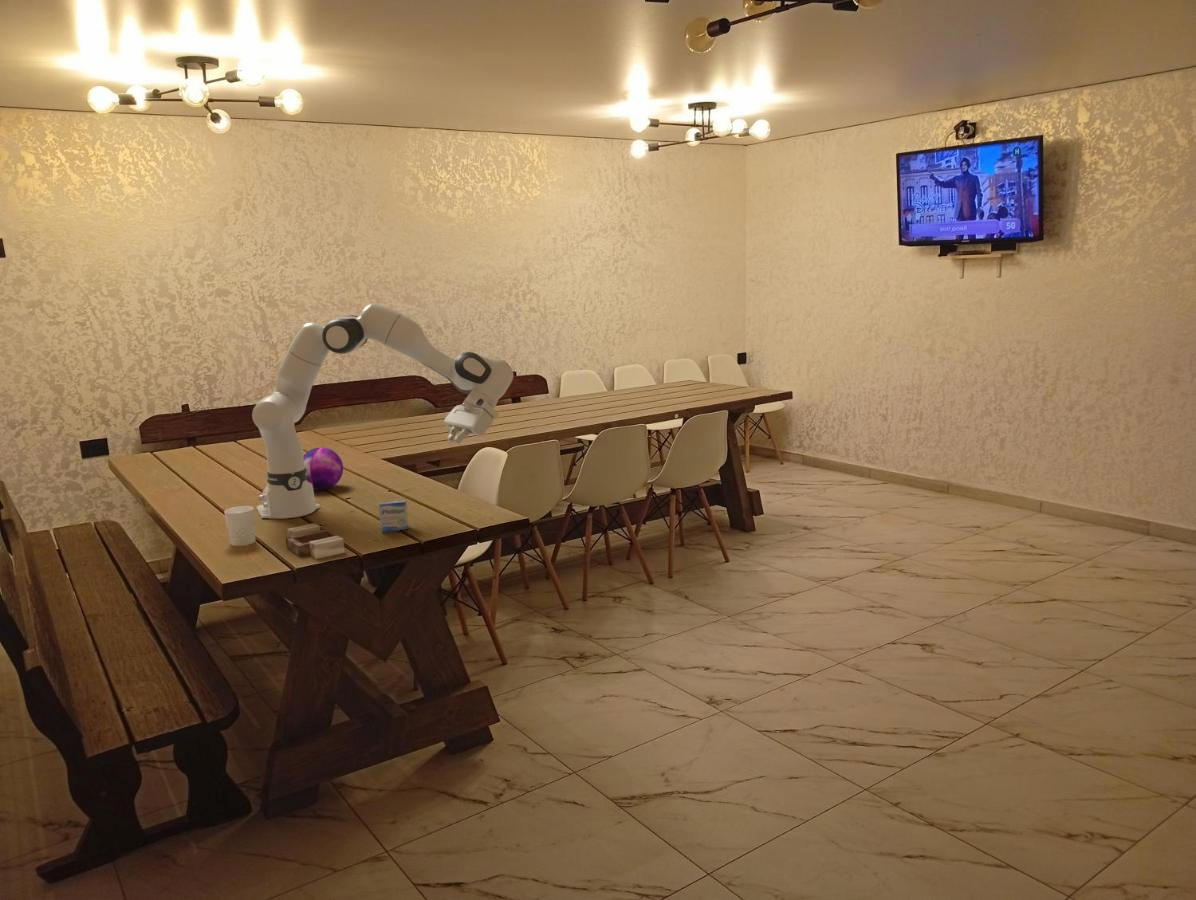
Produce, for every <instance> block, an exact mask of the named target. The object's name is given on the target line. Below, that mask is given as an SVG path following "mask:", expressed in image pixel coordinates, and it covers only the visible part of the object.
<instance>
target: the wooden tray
mask: <svg viewBox="0 0 1196 900" xmlns="http://www.w3.org/2000/svg"><path fill="white" fill-rule="evenodd" d="M287 535H288V537H286V538H285V541H286V549H287V548H288V549H287V550H288V551H290V550H291V551H290V552H292V553H293V552H294V554H295V555H296V554H297V556H298V557H304V556H308V555H310V556H311V557H312V558H314V559H316V560H319V559H323V558H327V557H332V556H336V555H340V554H343V553H344V554H345V544H344V538H343V537H341V536H339V535H334V536H329V532H328V529H323V530H321V526H320V525H319V524H316V523H315V522H314V523H309V524H304V525H300V526H296V527H291V528H287Z"/></svg>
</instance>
